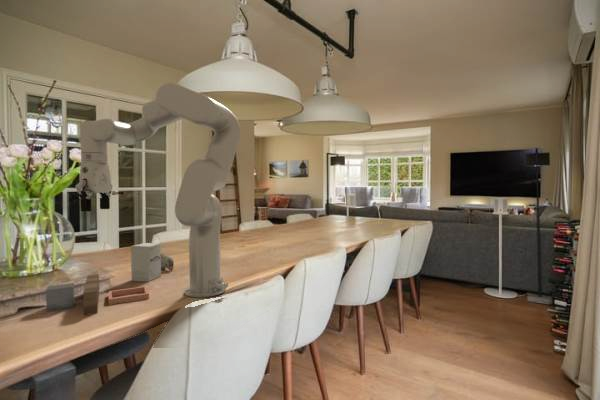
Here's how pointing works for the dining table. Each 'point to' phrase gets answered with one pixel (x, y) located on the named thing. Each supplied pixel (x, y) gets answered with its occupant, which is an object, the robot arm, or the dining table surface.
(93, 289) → the board
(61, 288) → the bar
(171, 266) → the decorative bird
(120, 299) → the key collar
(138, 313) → the dining table surface
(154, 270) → the supplement box
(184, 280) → the dining table surface
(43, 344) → the dining table surface
